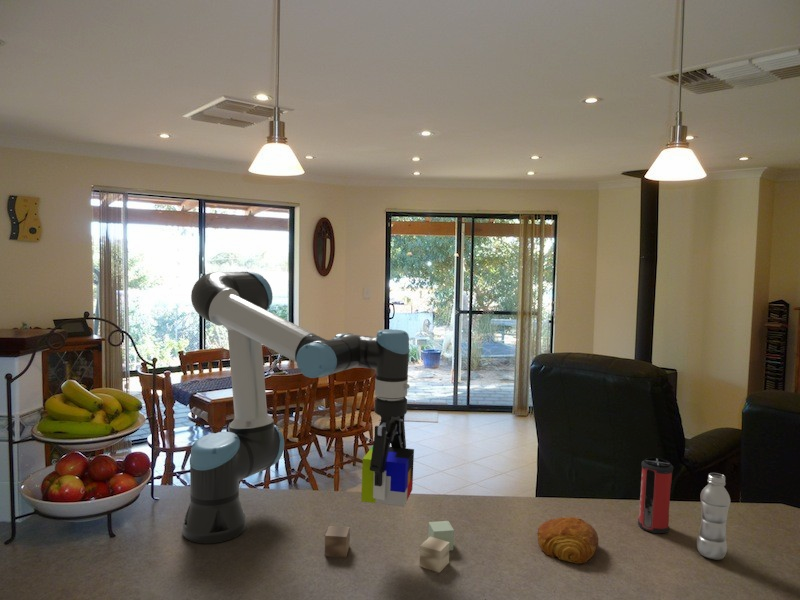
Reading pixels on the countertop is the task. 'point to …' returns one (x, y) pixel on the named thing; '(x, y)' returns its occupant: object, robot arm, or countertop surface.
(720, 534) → the plastic bottle
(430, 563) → the maple block
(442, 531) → the sage painted block
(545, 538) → the croissant
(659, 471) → the speaker
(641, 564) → the countertop surface
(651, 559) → the countertop surface
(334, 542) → the brown wooden cube
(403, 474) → the puzzle toy
